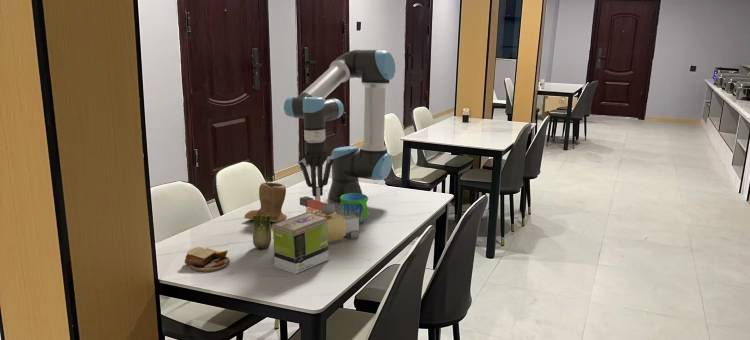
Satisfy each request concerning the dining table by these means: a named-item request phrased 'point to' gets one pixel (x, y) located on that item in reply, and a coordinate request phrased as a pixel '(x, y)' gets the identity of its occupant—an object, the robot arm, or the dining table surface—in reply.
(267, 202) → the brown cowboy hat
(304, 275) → the dining table surface
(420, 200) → the dining table surface
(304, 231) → the tea box
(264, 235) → the fennel bulb
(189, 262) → the toy sandwich meal
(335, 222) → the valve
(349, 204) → the snack cup
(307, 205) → the lever
